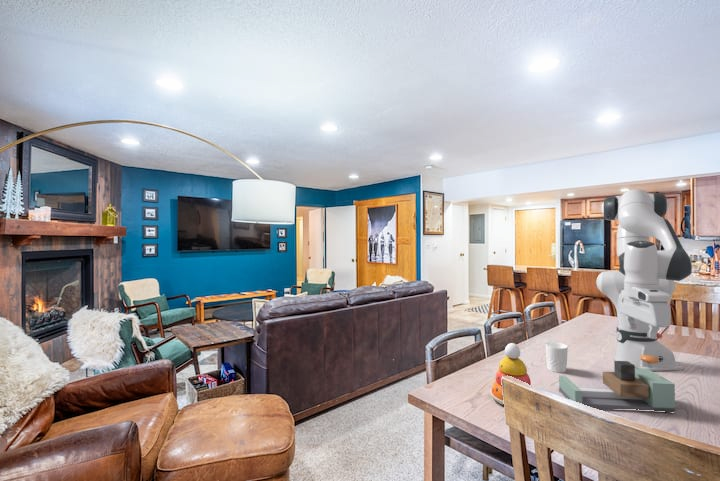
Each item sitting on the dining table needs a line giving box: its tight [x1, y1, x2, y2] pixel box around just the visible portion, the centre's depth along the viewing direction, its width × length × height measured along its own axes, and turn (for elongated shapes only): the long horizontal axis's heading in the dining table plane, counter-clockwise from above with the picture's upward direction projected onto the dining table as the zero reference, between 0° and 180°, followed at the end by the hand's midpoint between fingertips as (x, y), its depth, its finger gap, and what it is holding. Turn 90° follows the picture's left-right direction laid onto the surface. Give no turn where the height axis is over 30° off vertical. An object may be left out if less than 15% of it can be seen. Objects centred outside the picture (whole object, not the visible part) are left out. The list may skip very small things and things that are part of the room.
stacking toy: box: [489, 342, 532, 406], centre depth 113 cm, size 14×14×20 cm
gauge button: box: [641, 355, 659, 368], centre depth 109 cm, size 4×4×3 cm
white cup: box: [544, 341, 569, 374], centre depth 137 cm, size 8×8×10 cm
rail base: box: [558, 367, 676, 414], centre depth 111 cm, size 28×12×9 cm, turn 81°
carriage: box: [602, 360, 649, 398], centre depth 110 cm, size 8×10×9 cm
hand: (641, 333), depth 109 cm, fingers open, 8 cm apart
